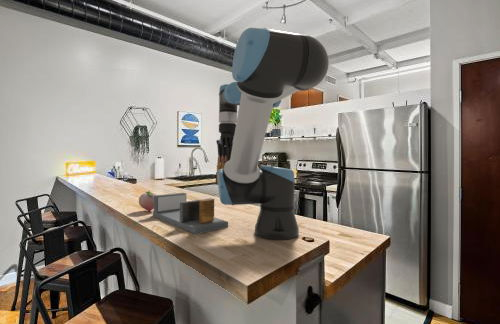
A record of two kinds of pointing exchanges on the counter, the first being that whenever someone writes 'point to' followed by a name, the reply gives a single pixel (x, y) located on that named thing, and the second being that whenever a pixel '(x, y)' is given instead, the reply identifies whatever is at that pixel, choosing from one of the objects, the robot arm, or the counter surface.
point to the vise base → (170, 212)
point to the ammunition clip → (220, 165)
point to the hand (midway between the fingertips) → (227, 180)
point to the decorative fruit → (147, 201)
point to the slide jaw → (197, 210)
